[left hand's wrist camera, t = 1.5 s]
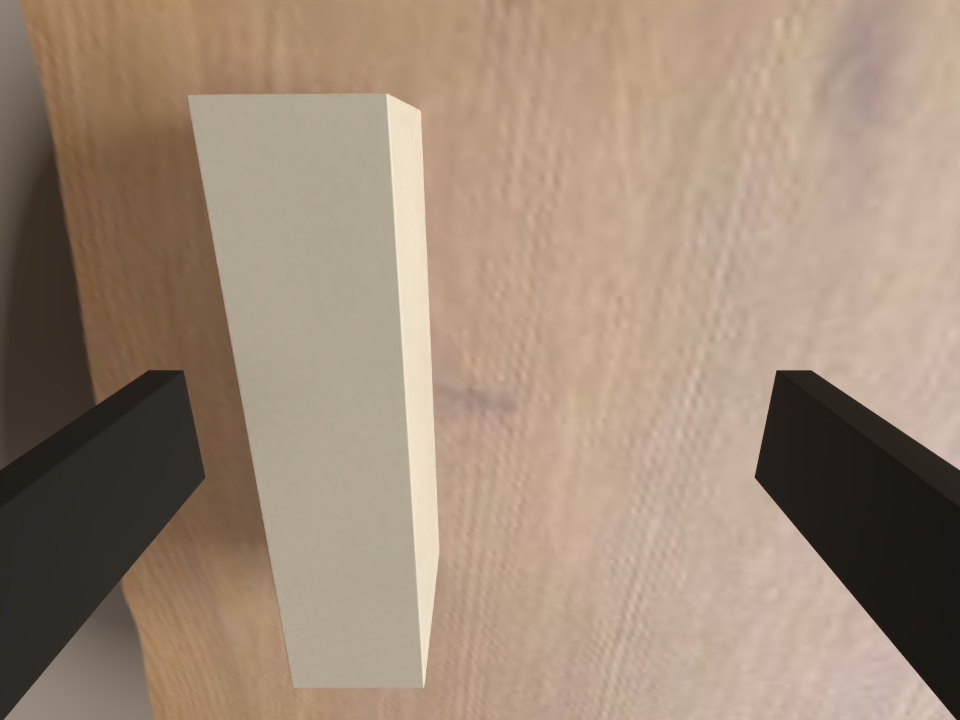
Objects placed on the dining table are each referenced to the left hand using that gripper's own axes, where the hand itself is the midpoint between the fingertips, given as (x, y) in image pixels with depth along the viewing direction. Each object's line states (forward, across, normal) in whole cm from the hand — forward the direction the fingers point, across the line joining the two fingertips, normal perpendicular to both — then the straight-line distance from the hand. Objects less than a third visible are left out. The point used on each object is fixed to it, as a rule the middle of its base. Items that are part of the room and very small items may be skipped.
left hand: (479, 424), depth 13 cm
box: (+16, -6, -5) cm, 18 cm away
